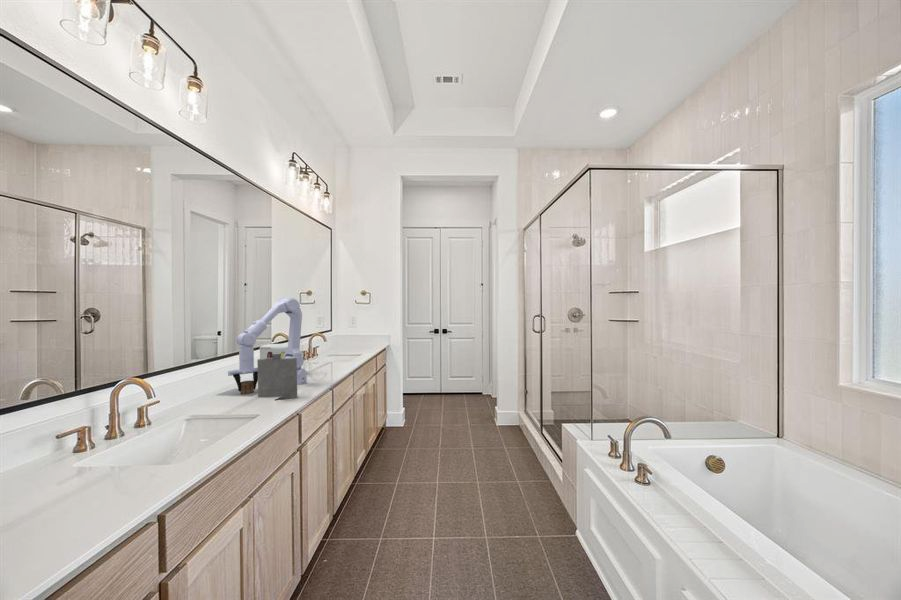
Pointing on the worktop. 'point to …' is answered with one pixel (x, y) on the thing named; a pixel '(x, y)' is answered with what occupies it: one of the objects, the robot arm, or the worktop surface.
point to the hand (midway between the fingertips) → (247, 389)
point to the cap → (247, 387)
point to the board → (237, 393)
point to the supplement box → (272, 350)
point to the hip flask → (277, 377)
